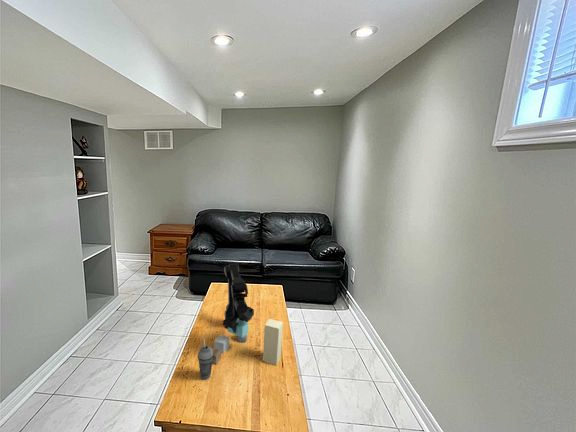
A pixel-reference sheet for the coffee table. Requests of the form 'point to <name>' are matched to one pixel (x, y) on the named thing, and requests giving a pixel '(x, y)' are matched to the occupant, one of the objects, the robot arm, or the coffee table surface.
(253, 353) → the coffee table surface
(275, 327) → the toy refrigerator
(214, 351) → the walnut cube
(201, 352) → the beverage cup
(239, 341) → the grey cylinder
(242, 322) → the teal long brick
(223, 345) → the grey square brick
